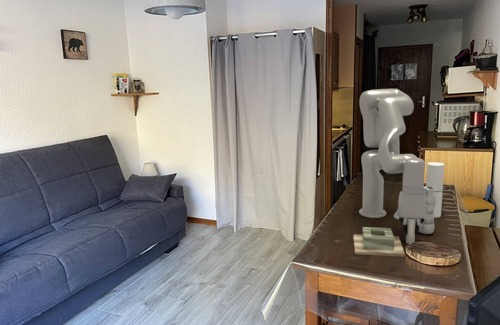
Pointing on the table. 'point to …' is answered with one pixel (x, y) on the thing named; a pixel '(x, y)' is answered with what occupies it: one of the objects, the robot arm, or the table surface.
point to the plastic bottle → (429, 212)
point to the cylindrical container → (436, 183)
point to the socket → (378, 242)
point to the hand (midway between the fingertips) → (410, 233)
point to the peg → (410, 230)
